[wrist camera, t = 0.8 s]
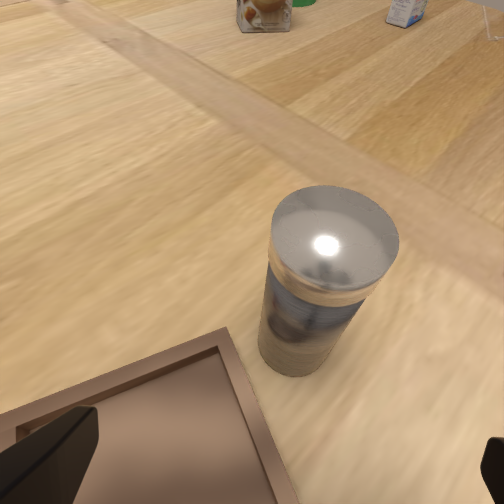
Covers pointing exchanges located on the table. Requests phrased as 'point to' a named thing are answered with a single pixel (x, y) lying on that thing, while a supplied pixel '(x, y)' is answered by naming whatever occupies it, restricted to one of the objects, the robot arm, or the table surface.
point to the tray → (171, 430)
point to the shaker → (320, 273)
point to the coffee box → (264, 15)
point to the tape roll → (302, 3)
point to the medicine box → (406, 12)
